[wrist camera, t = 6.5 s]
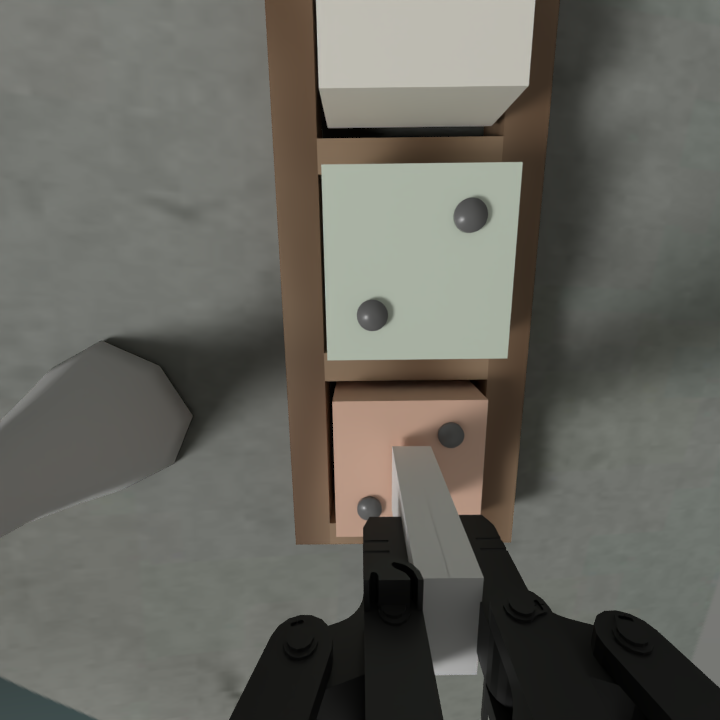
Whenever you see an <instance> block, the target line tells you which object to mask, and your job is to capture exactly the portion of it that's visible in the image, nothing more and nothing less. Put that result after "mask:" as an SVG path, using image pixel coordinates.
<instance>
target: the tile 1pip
mask: <svg viewBox="0 0 720 720" xmlns="http://www.w3.org/2000/svg"><path fill="white" fill-rule="evenodd" d="M534 12H535V0H316V15H317V47H318V78H319V91H320V96H321V100H322V105H323V109H324V113H325V118H326V122H327V127H328V128H381V127H461V126H492V125H493V124H494V123H495V122H496V121H497V120H498V118H499V117H500V116H501V115H502V114H503V113H504V112H505V111H506V110H507V109H508V108H509V107H510V105H511V104H512V103H513V102H514V101H515V100H516V99H517V98H518V97H519V96H520V95H521V94H522V92H523V91H524V90H525V89H526V88H527V87H528V86H529V76H530V63H531V50H532V37H533V24H534Z"/></svg>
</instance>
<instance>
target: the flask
mask: <svg viewBox="0 0 720 720" xmlns="http://www.w3.org/2000/svg"><path fill="white" fill-rule="evenodd" d="M192 417H193V415H192V414H191V412H190V411H189V409H188V408H187V406H186V405H185V403H184V402H183V400H182V399H181V397H180V396H179V394H178V393H177V391H176V390H175V388H174V387H173V385H172V384H171V382H170V381H169V379H168V378H167V376H166V375H165V373H164V372H163V370H162V369H161V367H160V366H159V365H156V364H154V363H152V362H150V361H147V360H145V359H143V358H140V357H138V356H136V355H133V354H131V353H129V352H127V351H124V350H122V349H120V348H117V347H115V346H113V345H110V344H108V343H106V342H104V341H99V342H98V343H96V344H94V345H92V346H91V347H89V348H87V349H85V350H84V351H82V352H80V353H78V354H76V355H75V356H73V357H71V358H69V359H68V360H66V361H64V362H62V363H60V364H59V365H57V366H55V367H53V368H52V369H51V370H50V371H49V372H48V373H47V374H46V375H45V376H44V377H42V378H41V380H40V381H39V382H38V383H37V384H36V385H35V386H34V387H33V388H32V389H31V390H30V391H29V392H28V393H27V394H26V395H25V396H24V397H23V398H22V400H21V401H20V402H19V403H18V404H17V405H16V406H15V407H14V408H13V409H12V410H11V411H10V412H9V413H8V414H7V415H5V416H4V417H3V418H2V419H1V420H0V537H2V536H4V535H6V534H8V533H10V532H11V531H13V530H15V529H17V528H19V527H21V526H22V525H24V524H26V523H29V522H32V521H34V520H37V519H39V518H42V517H45V516H47V515H50V514H53V513H55V512H58V511H61V510H63V509H66V508H69V507H71V506H74V505H77V504H80V503H83V502H86V501H89V500H92V499H95V498H98V497H101V496H104V495H107V494H111V493H114V492H117V491H119V490H122V489H125V488H127V487H129V486H131V485H133V484H135V483H137V482H139V481H141V480H143V479H145V478H147V477H149V476H151V475H153V474H155V473H157V472H159V471H161V470H163V469H165V468H167V467H169V466H170V465H172V464H174V462H175V460H176V457H177V455H178V452H179V450H180V447H181V445H182V442H183V439H184V437H185V434H186V432H187V429H188V427H189V424H190V422H191V419H192Z"/></svg>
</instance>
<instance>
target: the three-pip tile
mask: <svg viewBox="0 0 720 720" xmlns="http://www.w3.org/2000/svg"><path fill="white" fill-rule="evenodd" d="M332 407H333V441H334V475H335V509H336V537H363V527H364V525H365V523H366V522H367V520H368V518H369V517H393V515H392V446H431V448H432V450H433V453H434V455H435V458H436V460H437V463H438V465H439V468H440V470H441V472H442V475H443V477H444V480H445V482H446V485H447V487H448V490H449V492H450V495H451V497H452V500H453V502H454V505H455V507H456V510H457V512H458V515H480V514H481V499H482V485H483V470H484V455H485V441H486V426H487V411H488V399H487V398H486V397H485V396H484V395H483V394H482V393H481V392H480V391H479V390H478V389H477V388H476V387H475V386H474V385H473V384H472V383H471V382H470V381H469V380H390V381H337V382H336V386H335V391H334V396H333V401H332Z"/></svg>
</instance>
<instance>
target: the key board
mask: <svg viewBox="0 0 720 720" xmlns="http://www.w3.org/2000/svg"><path fill="white" fill-rule="evenodd" d="M559 4H560V0H535V12H534V24H533V37H532V50H531V63H530V76H529V86H528V87H527V88H526V89H525V90H524V91H523V92H522V94H521V95H520V96H519V97H518V98H517V99H516V100H515V101H514V102H513V103H512V104H511V105H510V107H509V108H508V109H507V110H506V111H505V112H504V113H503V114H502V115H501V116H500V117H499V118H498V120H497V121H496V122H495V123H494V124H493V125H492V126H484V135H483V136H481V137H401V138H322V106H321V96H320V91H319V78H318V47H317V15H316V0H265V11H266V29H267V46H268V63H269V81H270V98H271V116H272V133H273V151H274V168H275V186H276V203H277V221H278V238H279V256H280V273H281V290H282V308H283V325H284V343H285V360H286V378H287V395H288V413H289V430H290V448H291V465H292V482H293V500H294V517H295V535H296V545H298V544H363V537H336V509H335V493H333V466H332V433H331V400H330V381H390V380H470V382H471V383H472V384H473V385H474V386H475V387H476V388H477V389H478V390H479V391H480V392H481V393H482V394H483V395H484V396H485V397H486V398H487V399H488V411H487V426H486V441H485V455H484V470H483V485H482V499H481V514H480V515H483V516H484V517H485V518H486V519H488V520H489V521H490V522H491V523H492V524H493V525H494V526H495V528H496V530H497V532H498V534H499V536H500V537H501V540H502V541H503V542H511V535H512V524H513V513H514V502H515V491H516V480H517V469H518V458H519V447H520V436H521V424H522V413H523V402H524V391H525V380H526V369H527V358H528V347H529V336H530V325H531V314H532V303H533V292H534V281H535V270H536V259H537V247H538V236H539V225H540V214H541V203H542V192H543V181H544V170H545V159H546V148H547V137H548V126H549V115H550V104H551V93H552V81H553V70H554V59H555V48H556V37H557V26H558V15H559ZM485 162H523V165H522V178H521V191H520V204H519V216H518V229H517V242H516V255H515V268H514V280H513V293H512V306H511V319H510V332H509V344H508V357H507V358H500V359H412V360H327V331H326V299H325V268H324V236H323V205H322V173H321V165H323V164H404V163H485Z"/></svg>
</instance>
